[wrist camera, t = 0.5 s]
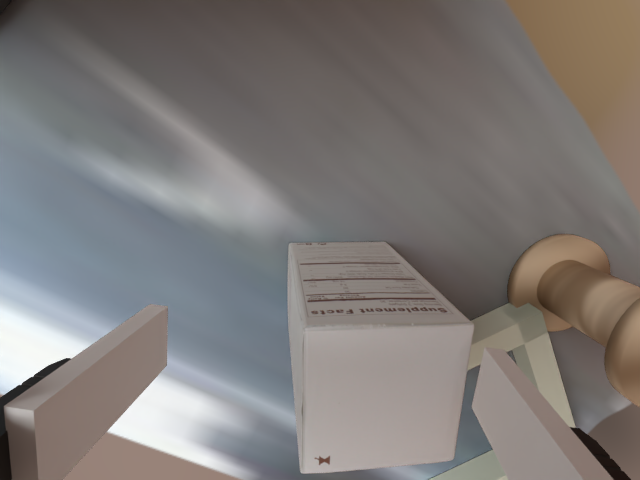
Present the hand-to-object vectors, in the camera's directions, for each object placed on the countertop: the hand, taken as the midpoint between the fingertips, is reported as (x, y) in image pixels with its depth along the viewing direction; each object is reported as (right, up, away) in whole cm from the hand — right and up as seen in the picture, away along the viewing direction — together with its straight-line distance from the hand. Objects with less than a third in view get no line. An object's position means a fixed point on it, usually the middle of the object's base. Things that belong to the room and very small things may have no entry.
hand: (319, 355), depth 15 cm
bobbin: (+19, +1, +14) cm, 24 cm away
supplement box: (+1, +1, +12) cm, 13 cm away
